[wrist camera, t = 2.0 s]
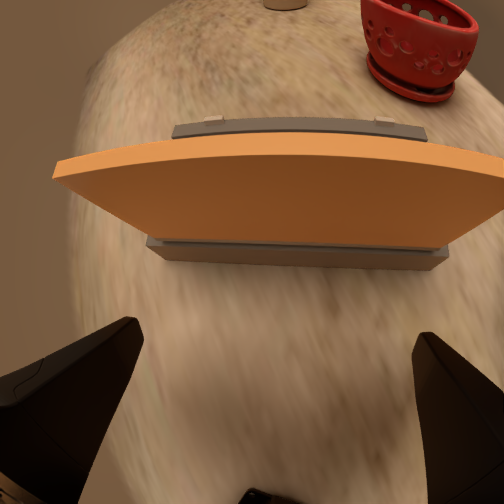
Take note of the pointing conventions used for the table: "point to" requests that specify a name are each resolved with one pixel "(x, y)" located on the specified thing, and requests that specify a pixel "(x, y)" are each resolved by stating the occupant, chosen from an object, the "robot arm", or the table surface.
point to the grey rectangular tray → (299, 253)
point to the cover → (293, 189)
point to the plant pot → (418, 46)
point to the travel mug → (284, 4)
